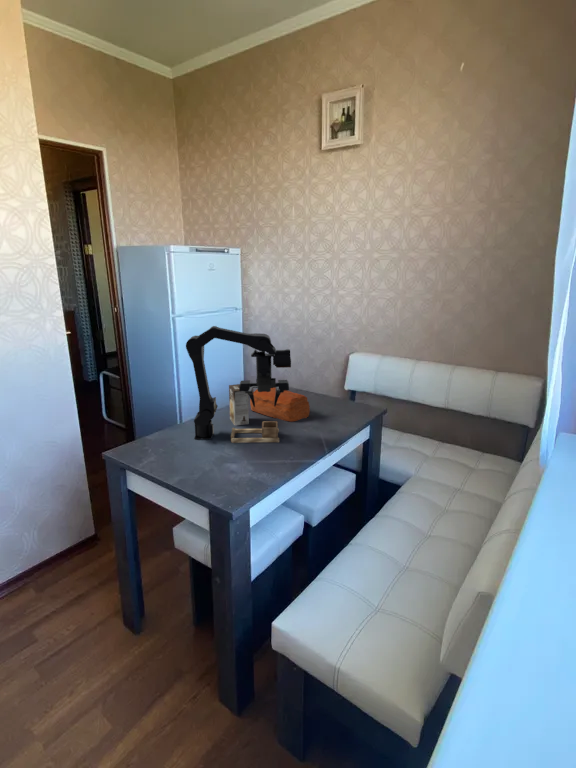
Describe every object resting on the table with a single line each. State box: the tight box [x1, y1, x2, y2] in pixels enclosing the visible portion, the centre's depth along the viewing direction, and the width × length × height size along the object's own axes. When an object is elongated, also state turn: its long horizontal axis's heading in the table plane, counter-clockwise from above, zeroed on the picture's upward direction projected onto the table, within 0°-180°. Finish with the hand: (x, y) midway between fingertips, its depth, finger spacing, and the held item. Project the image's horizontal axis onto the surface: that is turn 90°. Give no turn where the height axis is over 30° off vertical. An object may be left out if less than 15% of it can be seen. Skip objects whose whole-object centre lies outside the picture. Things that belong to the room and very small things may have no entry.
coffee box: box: [228, 383, 250, 427], centre depth 179 cm, size 9×6×16 cm
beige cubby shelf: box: [230, 427, 280, 444], centre depth 164 cm, size 20×12×3 cm, turn 93°
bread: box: [249, 388, 311, 423], centre depth 191 cm, size 16×27×11 cm, turn 49°
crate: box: [261, 420, 279, 438], centre depth 164 cm, size 6×7×5 cm
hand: (264, 406), depth 164 cm, fingers open, 8 cm apart
